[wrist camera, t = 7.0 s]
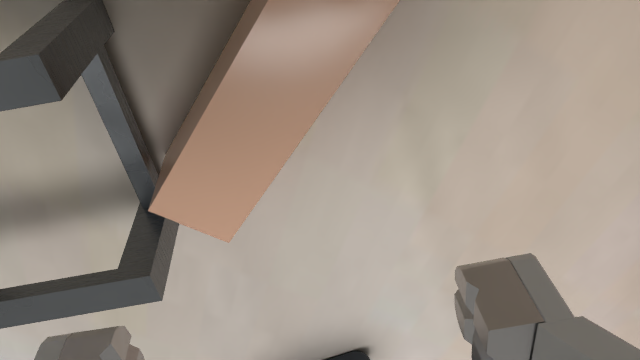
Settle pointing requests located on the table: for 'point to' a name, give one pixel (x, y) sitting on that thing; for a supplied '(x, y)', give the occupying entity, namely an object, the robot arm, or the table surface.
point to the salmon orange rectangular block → (260, 106)
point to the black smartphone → (352, 356)
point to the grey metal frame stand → (98, 73)
